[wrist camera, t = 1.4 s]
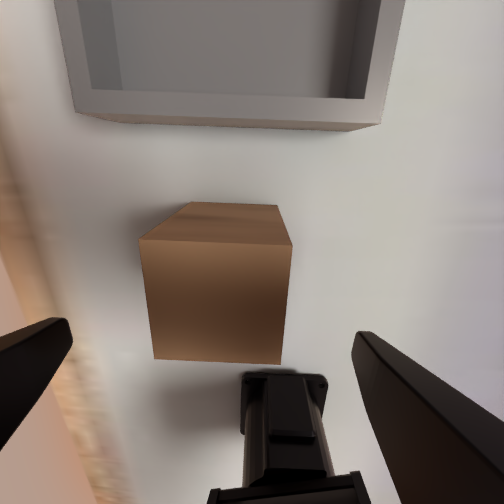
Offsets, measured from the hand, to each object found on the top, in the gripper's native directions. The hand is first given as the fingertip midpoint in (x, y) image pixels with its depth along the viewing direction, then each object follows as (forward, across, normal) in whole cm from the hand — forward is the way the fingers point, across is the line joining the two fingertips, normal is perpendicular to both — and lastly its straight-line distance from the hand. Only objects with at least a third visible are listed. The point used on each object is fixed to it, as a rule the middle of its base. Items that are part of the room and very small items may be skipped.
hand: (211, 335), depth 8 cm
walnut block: (+8, 0, 0) cm, 8 cm away
